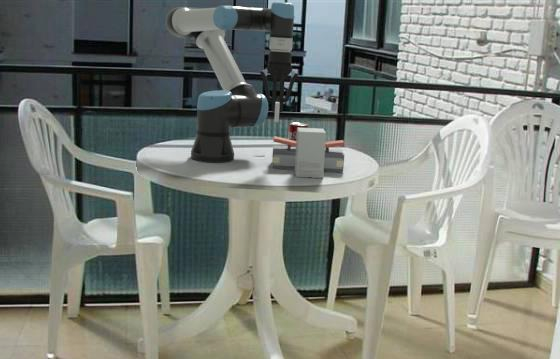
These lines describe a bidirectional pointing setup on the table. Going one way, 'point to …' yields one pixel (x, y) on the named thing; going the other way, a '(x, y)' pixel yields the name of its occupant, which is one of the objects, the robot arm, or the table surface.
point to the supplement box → (310, 152)
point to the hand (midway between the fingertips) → (276, 121)
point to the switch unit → (287, 154)
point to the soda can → (295, 130)
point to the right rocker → (334, 143)
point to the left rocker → (284, 141)
